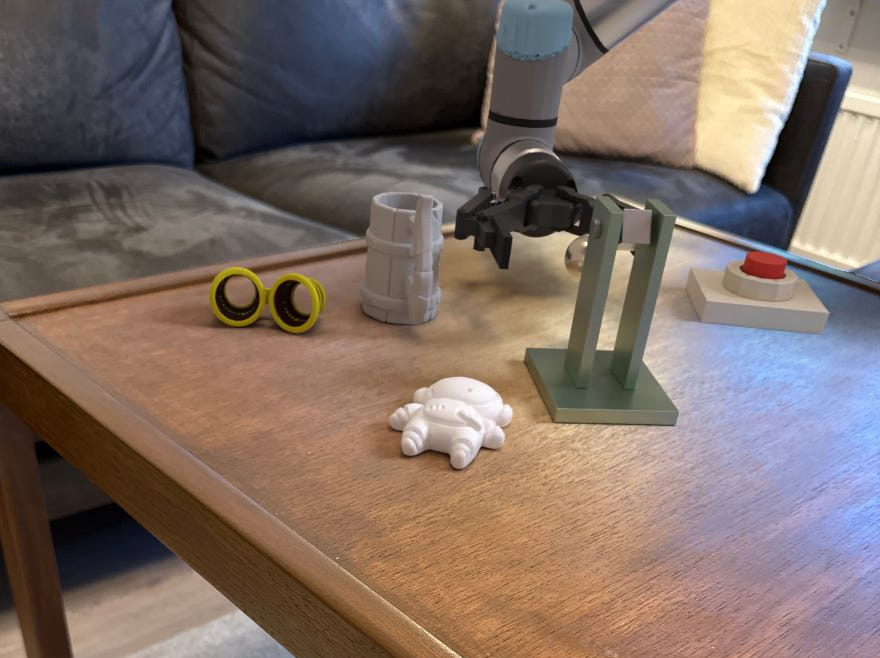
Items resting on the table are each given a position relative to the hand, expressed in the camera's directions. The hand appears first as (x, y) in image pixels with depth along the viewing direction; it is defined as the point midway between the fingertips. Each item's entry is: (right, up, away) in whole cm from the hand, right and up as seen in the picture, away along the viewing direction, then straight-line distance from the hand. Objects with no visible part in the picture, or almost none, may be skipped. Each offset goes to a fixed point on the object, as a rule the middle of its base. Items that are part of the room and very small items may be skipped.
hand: (583, 257), depth 85 cm
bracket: (+1, -12, -3) cm, 13 cm away
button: (+20, +3, +13) cm, 25 cm away
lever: (+1, -3, -5) cm, 6 cm away
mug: (-16, -3, +7) cm, 17 cm away
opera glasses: (-28, -5, +4) cm, 28 cm away
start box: (+20, +1, +16) cm, 26 cm away
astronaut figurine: (-12, -18, -10) cm, 24 cm away
